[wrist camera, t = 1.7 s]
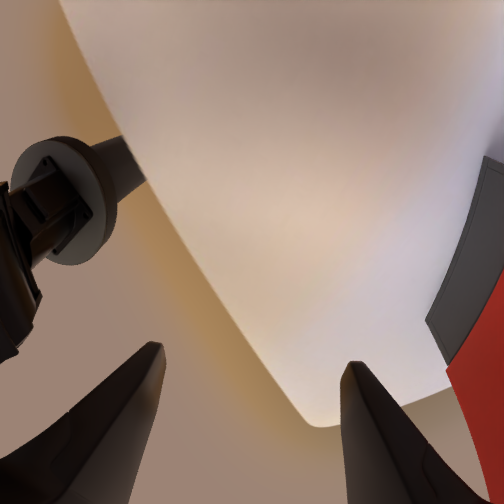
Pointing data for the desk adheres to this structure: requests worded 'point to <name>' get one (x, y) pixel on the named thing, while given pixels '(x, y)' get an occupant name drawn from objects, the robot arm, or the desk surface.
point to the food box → (472, 265)
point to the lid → (484, 389)
